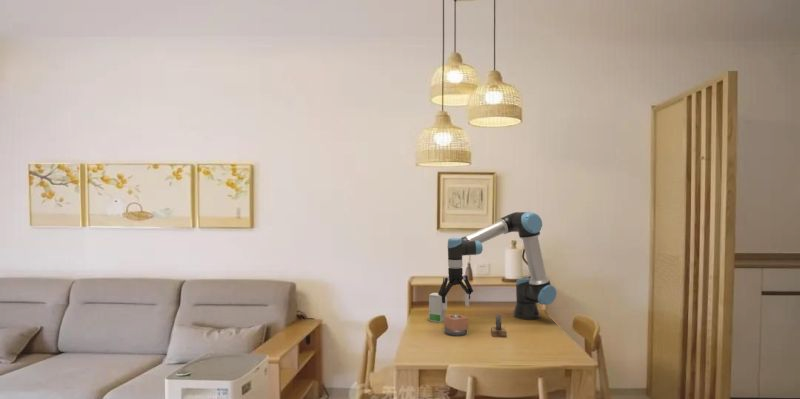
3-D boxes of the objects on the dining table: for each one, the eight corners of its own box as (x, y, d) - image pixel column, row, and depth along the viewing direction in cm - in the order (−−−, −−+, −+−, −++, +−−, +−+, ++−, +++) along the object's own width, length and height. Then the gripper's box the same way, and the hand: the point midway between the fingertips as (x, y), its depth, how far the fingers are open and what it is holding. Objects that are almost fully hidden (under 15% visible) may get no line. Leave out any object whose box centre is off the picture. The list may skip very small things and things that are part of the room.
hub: (466, 329, 228) (466, 312, 228) (468, 336, 216) (467, 318, 216) (444, 329, 229) (444, 311, 229) (444, 336, 217) (444, 317, 218)
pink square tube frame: (458, 325, 229) (458, 313, 229) (467, 329, 220) (467, 317, 221) (444, 327, 225) (444, 315, 225) (453, 331, 217) (453, 319, 217)
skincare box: (428, 321, 247) (428, 294, 247) (432, 318, 252) (432, 292, 253) (441, 322, 243) (441, 295, 243) (446, 320, 248) (445, 293, 249)
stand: (504, 333, 222) (504, 314, 222) (506, 337, 215) (506, 317, 215) (491, 332, 222) (490, 313, 223) (492, 336, 215) (492, 317, 216)
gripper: (471, 264, 232) (472, 303, 232) (431, 268, 222) (432, 308, 221) (479, 266, 225) (480, 306, 225) (438, 270, 215) (439, 311, 215)
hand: (456, 307), depth 223 cm, fingers open, 13 cm apart
